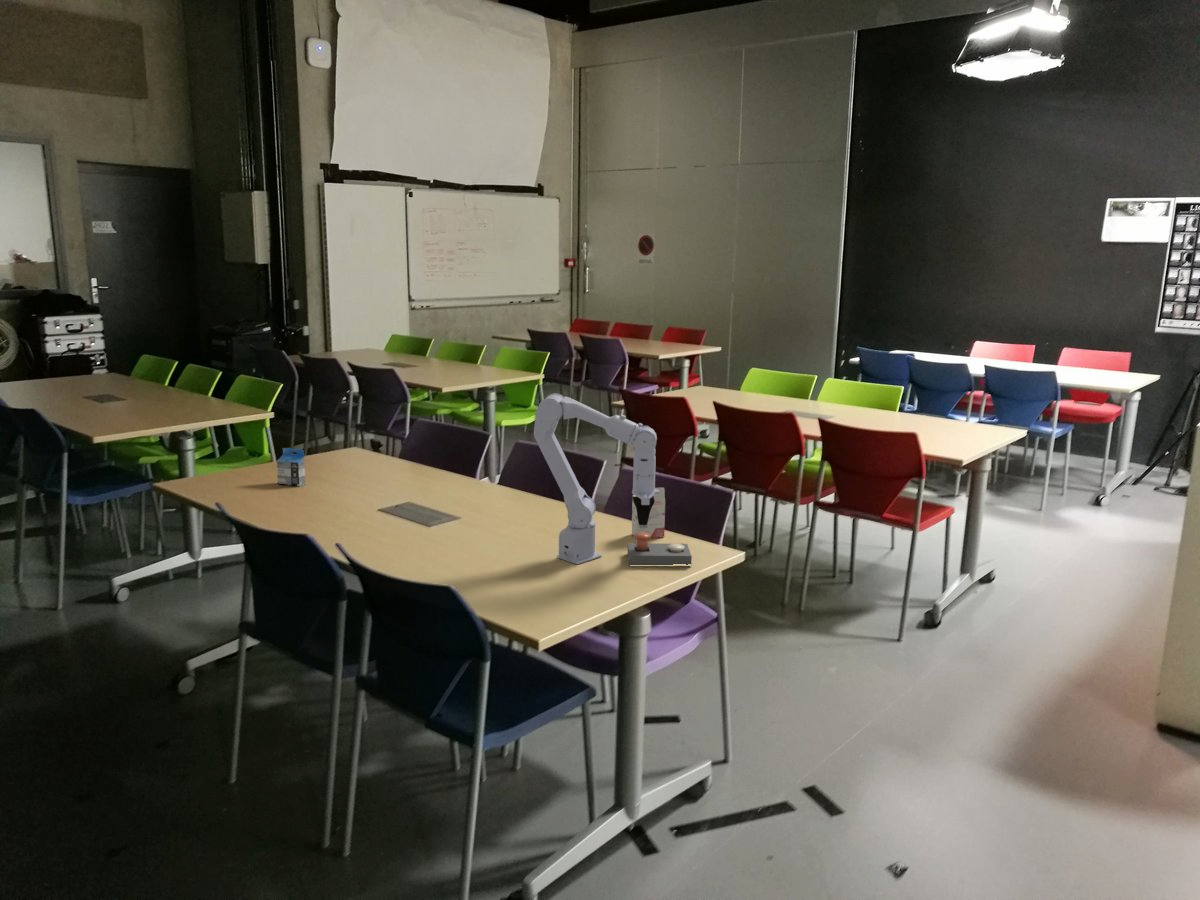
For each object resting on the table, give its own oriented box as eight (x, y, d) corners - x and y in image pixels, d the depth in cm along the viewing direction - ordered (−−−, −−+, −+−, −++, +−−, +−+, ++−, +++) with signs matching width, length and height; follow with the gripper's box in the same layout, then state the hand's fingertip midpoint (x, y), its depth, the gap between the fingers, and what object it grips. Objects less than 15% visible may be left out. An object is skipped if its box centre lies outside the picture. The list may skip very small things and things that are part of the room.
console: (629, 566, 227) (629, 555, 226) (627, 553, 237) (627, 543, 236) (691, 567, 227) (691, 556, 227) (686, 554, 237) (687, 543, 236)
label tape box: (277, 484, 301) (274, 449, 298) (284, 482, 304) (282, 447, 302) (299, 487, 298) (297, 451, 296) (306, 484, 302) (304, 449, 299)
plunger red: (642, 552, 228) (643, 538, 227) (630, 548, 231) (630, 534, 230) (653, 548, 231) (654, 534, 230) (641, 544, 234) (641, 531, 233)
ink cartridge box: (658, 532, 256) (660, 483, 253) (664, 537, 251) (666, 487, 248) (630, 534, 254) (632, 484, 251) (636, 539, 249) (637, 489, 246)
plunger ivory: (676, 564, 229) (677, 550, 228) (663, 560, 232) (664, 546, 231) (687, 560, 232) (687, 546, 231) (674, 556, 235) (675, 542, 234)
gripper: (662, 480, 220) (660, 532, 223) (657, 467, 234) (655, 516, 237) (634, 480, 220) (632, 532, 223) (630, 467, 234) (629, 516, 237)
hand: (642, 524), depth 230 cm, fingers closed
